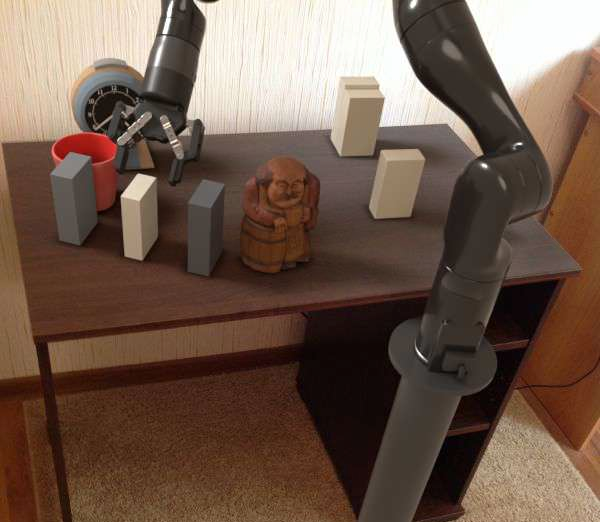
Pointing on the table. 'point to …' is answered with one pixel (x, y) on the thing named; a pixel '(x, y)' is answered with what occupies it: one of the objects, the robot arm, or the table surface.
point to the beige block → (139, 216)
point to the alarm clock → (109, 102)
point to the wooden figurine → (279, 215)
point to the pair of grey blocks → (83, 217)
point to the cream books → (361, 142)
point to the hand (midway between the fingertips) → (145, 178)
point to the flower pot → (93, 162)
